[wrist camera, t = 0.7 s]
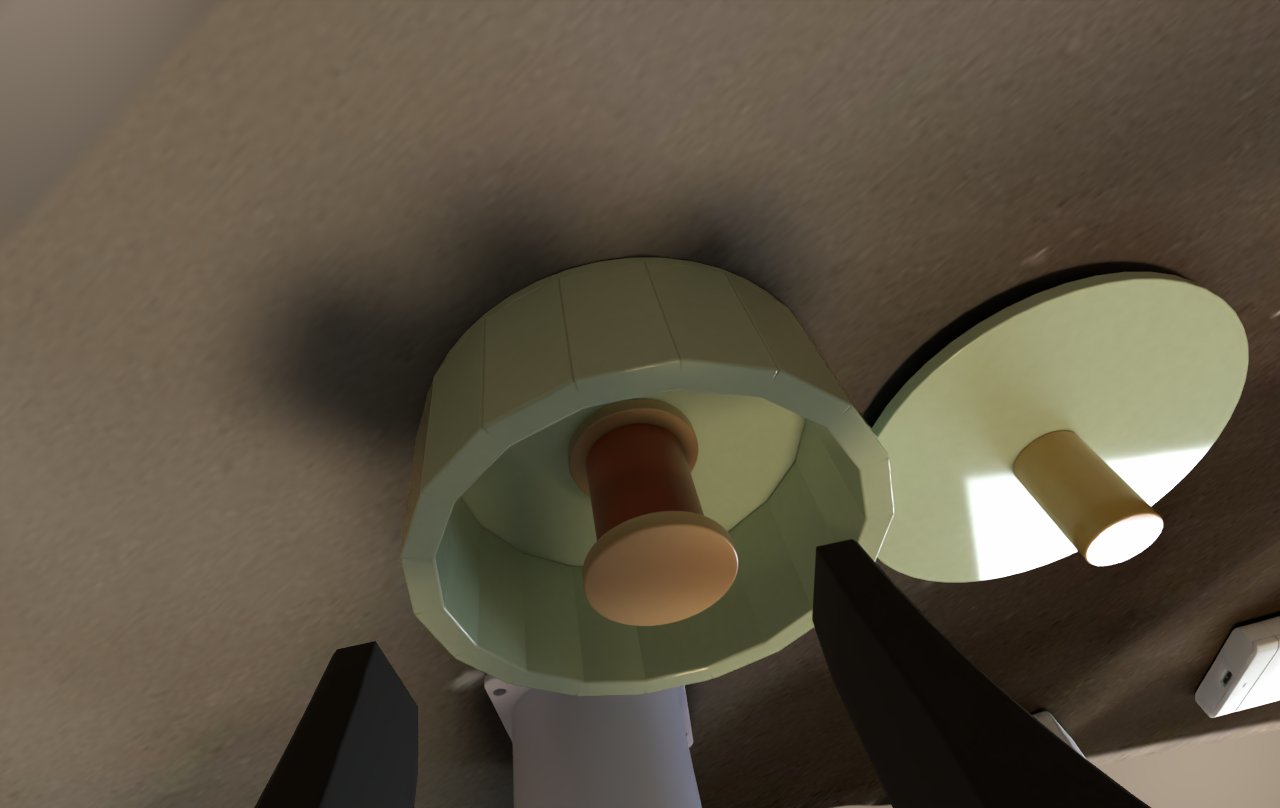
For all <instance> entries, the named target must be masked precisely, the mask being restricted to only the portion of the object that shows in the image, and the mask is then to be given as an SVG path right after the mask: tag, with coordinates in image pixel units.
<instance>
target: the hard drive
mask: <svg viewBox="0 0 1280 808" xmlns="http://www.w3.org/2000/svg"><path fill="white" fill-rule="evenodd" d="M1195 700H1196V702H1197V703H1198V704H1199V705H1200V707H1201V708H1202V709H1203V710H1204V711H1205V713H1206V714H1207V715H1208V716H1209V717H1210V718H1214V717H1218V716H1221V715H1225V714H1229V713H1232V712H1237V711H1241V710H1244V709H1248V708H1252V707H1256V706H1260V705H1264V704H1267V703H1271V702H1275V701H1279V700H1280V616H1278V617H1274V618H1271V619H1267V620H1264V621H1260V622H1257V623H1253V624H1249V625H1245V626H1241V627H1238V628H1235V629H1234V630H1233V631H1232V632H1231V634H1230V636H1229V638H1228V639H1227V641H1226V643H1225V644H1224V646H1223V648H1222V649H1221V651H1220V653H1219V654H1218V656H1217V658H1216V660H1215V661H1214V663H1213V665H1212V667H1211V668H1210V670H1209V671H1208V673H1207V675H1206V677H1205V678H1204V680H1203V681H1202V683H1201V685H1200V686H1199V688H1198V689H1197V691H1196V693H1195Z"/></svg>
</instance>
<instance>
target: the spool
mask: <svg viewBox="0 0 1280 808" xmlns="http://www.w3.org/2000/svg"><path fill="white" fill-rule="evenodd" d="M697 458H698V441H697V437H696V435H695V432H694V429H693V426H692V425H691V423H690V421H689V420H688V419H687V417H686V416H685V415H684V414H683V413H682V412H680V411H679V410H678V409H676V408H674V407H673V406H671V405H669V404H666V403H664V402H660V401H656V400H651V399H630V400H623V401H619V402H615V403H612V404H610V405H607V406H605V407H603V408H601V409H599V410H597V411H596V412H594V413H592V414H591V415H590V416H589V417H587V418H586V419H585V420H584V421H583V422H582V423H581V424H580V425H579V427H578V428H577V429H576V431H575V432H574V434H573V436H572V438H571V441H570V444H569V448H568V463H569V469H570V474H571V476H572V479H573V480H574V482H575V484H576V485H577V486H578V487H579V489H580V490H581V491H583V492H584V493H585V494H586V495H588V496H589V497H590V498H591V505H592V512H593V518H594V525H595V532H596V539H597V541H596V543H595V544H594V545H593V546H592V547H591V549H590V551H589V552H588V554H587V556H586V558H585V561H584V564H583V568H582V579H583V587H584V593H585V596H586V598H587V600H588V602H589V603H590V605H591V606H592V607H593V608H594V609H595V611H597V612H598V613H599V614H601V615H602V616H604V617H606V618H608V619H610V620H612V621H615V622H618V623H622V624H627V625H634V626H654V625H662V624H668V623H672V622H676V621H680V620H683V619H686V618H689V617H691V616H693V615H696V614H698V613H700V612H701V611H703V610H705V609H707V608H708V607H710V606H711V605H713V604H714V603H715V602H717V601H718V600H719V599H720V598H721V597H722V596H723V595H724V594H725V593H726V592H727V591H728V589H729V588H730V587H731V585H732V583H733V582H734V579H735V577H736V574H737V570H738V556H737V552H736V549H735V547H734V544H733V541H732V538H731V536H730V535H729V533H728V532H727V531H726V530H725V529H724V528H723V527H722V526H721V525H720V524H719V523H717V522H716V521H714V520H712V519H711V518H709V517H706V516H704V513H703V510H702V507H701V504H700V501H699V498H698V495H697V491H696V488H695V485H694V482H693V479H692V476H691V472H692V471H693V469H694V467H695V464H696V461H697Z"/></svg>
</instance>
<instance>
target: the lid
mask: <svg viewBox="0 0 1280 808" xmlns="http://www.w3.org/2000/svg"><path fill="white" fill-rule="evenodd" d="M1248 363H1249V353H1248V341H1247V337H1246V333H1245V330H1244V326H1243V324H1242V323H1241V321H1240V319H1239V318H1238V316H1237V314H1236V312H1235V311H1234V310H1233V309H1232V308H1231V307H1230V306H1229V305H1228V304H1227V303H1226V302H1225V301H1224V300H1223V299H1222V298H1221V297H1219V296H1218V295H1216V294H1214V293H1213V292H1211V291H1209V290H1208V289H1206V288H1204V287H1202V286H1201V285H1199V284H1197V283H1196V282H1193V281H1191V280H1188V279H1185V278H1182V277H1179V276H1176V275H1170V274H1163V273H1156V272H1119V273H1111V274H1104V275H1097V276H1092V277H1088V278H1084V279H1080V280H1076V281H1072V282H1068V283H1064V284H1062V285H1059V286H1056V287H1053V288H1051V289H1048V290H1045V291H1042V292H1039V293H1037V294H1034V295H1032V296H1030V297H1028V298H1026V299H1023V300H1021V301H1019V302H1017V303H1015V304H1013V305H1011V306H1008V307H1006V308H1004V309H1003V310H1001V311H999V312H997V313H996V314H994V315H992V316H990V317H989V318H987V319H985V320H984V321H982V322H980V323H978V324H977V325H975V326H974V327H972V328H971V329H969V330H968V331H967V332H965V333H964V334H962V335H961V336H959V337H958V338H956V339H955V340H954V341H952V342H951V343H949V344H948V345H947V346H946V347H945V348H943V349H942V350H941V351H940V352H939V353H937V354H936V355H935V356H934V357H933V358H931V359H930V360H929V361H928V362H927V363H925V364H924V365H923V366H922V367H921V368H920V369H919V370H918V371H917V372H916V373H915V374H914V375H913V376H912V377H911V378H910V379H909V380H908V381H907V382H906V383H905V384H904V386H903V387H902V388H901V389H900V390H899V392H898V393H897V394H896V395H895V396H894V397H893V399H892V400H891V401H890V402H889V403H888V405H887V406H886V407H885V409H884V410H883V412H882V413H881V415H880V416H879V418H878V419H877V421H876V422H875V424H874V425H873V427H872V430H873V432H874V433H875V435H876V436H877V438H878V439H879V441H880V442H881V444H882V445H883V447H884V448H885V450H886V451H887V453H888V456H889V457H890V468H891V479H892V491H893V502H894V516H893V519H892V521H891V524H890V526H889V529H888V531H887V534H886V536H885V539H884V541H883V544H882V546H881V549H880V551H879V554H878V556H877V558H878V559H879V560H881V561H882V562H883V563H884V564H886V565H887V566H889V567H891V568H892V569H894V570H896V571H898V572H900V573H903V574H906V575H908V576H911V577H915V578H919V579H923V580H927V581H937V582H973V581H984V580H990V579H995V578H1001V577H1006V576H1010V575H1014V574H1018V573H1022V572H1025V571H1029V570H1032V569H1035V568H1038V567H1041V566H1044V565H1047V564H1049V563H1052V562H1054V561H1057V560H1059V559H1062V558H1064V557H1067V556H1069V555H1071V554H1073V553H1075V552H1077V551H1078V552H1079V553H1080V554H1081V555H1082V556H1083V558H1084V559H1085V560H1086V561H1087V562H1088V563H1090V564H1092V565H1095V566H1108V565H1113V564H1117V563H1120V562H1123V561H1125V560H1128V559H1130V558H1132V557H1134V556H1136V555H1137V554H1139V553H1141V552H1142V551H1143V550H1145V549H1146V548H1147V547H1149V546H1150V545H1151V544H1152V543H1153V542H1154V541H1155V540H1156V539H1157V537H1158V536H1159V535H1160V533H1161V531H1162V529H1163V519H1162V517H1161V516H1160V515H1159V514H1158V513H1157V512H1156V511H1155V510H1154V509H1153V508H1152V507H1151V506H1152V505H1154V504H1155V503H1156V502H1157V501H1158V500H1160V499H1161V498H1162V497H1163V496H1164V495H1166V494H1167V493H1168V492H1169V491H1170V490H1171V489H1173V488H1174V487H1175V486H1176V485H1177V484H1178V483H1179V482H1180V481H1181V480H1182V479H1183V478H1184V477H1185V476H1186V475H1187V474H1188V473H1189V472H1190V471H1191V470H1192V469H1193V468H1194V467H1195V465H1196V464H1197V463H1198V462H1199V461H1200V460H1201V459H1202V458H1203V457H1204V455H1205V454H1206V453H1207V452H1208V450H1209V449H1210V448H1211V446H1212V445H1213V444H1214V442H1215V441H1216V440H1217V438H1218V437H1219V435H1220V434H1221V432H1222V431H1223V429H1224V427H1225V426H1226V424H1227V423H1228V421H1229V419H1230V418H1231V416H1232V414H1233V411H1234V409H1235V407H1236V405H1237V403H1238V401H1239V399H1240V396H1241V393H1242V390H1243V387H1244V384H1245V381H1246V375H1247V369H1248Z"/></svg>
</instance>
